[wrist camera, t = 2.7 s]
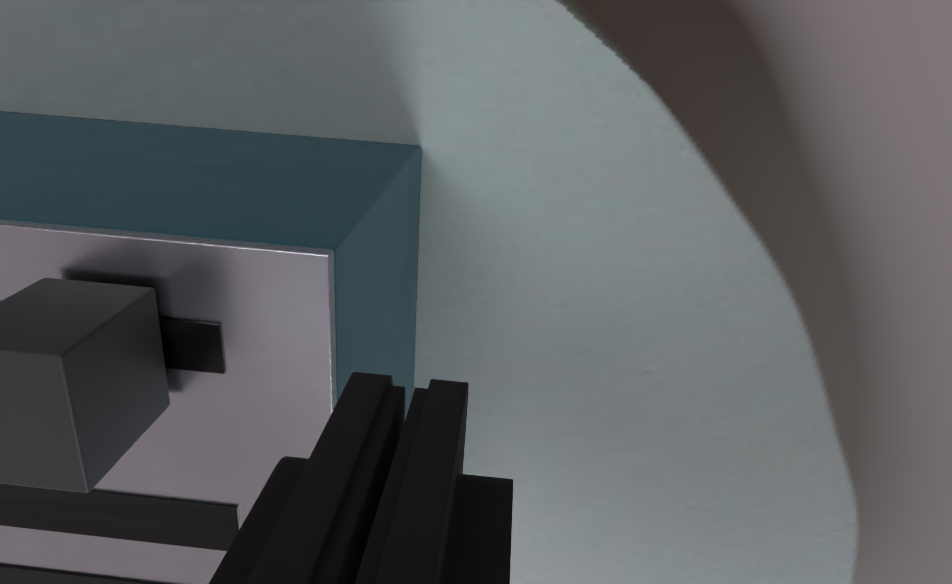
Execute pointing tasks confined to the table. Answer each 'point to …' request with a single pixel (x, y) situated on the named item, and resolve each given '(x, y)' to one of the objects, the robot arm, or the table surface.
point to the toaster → (207, 318)
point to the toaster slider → (76, 380)
